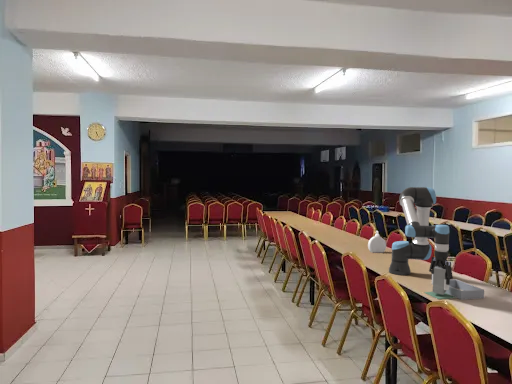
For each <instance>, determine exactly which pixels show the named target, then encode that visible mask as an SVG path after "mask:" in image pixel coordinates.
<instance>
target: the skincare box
mask: <svg viewBox="0 0 512 384" xmlns="http://www.w3.org/2000/svg"><path fill="white" fill-rule="evenodd" d="M445 272H446V269H443V268H441V266H436V267H434V278H433V285H432V291H431V292H433V293H437V294H442V295H444V293H445V292H446V290H444V279H445ZM447 277H448V276H447Z"/></svg>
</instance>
